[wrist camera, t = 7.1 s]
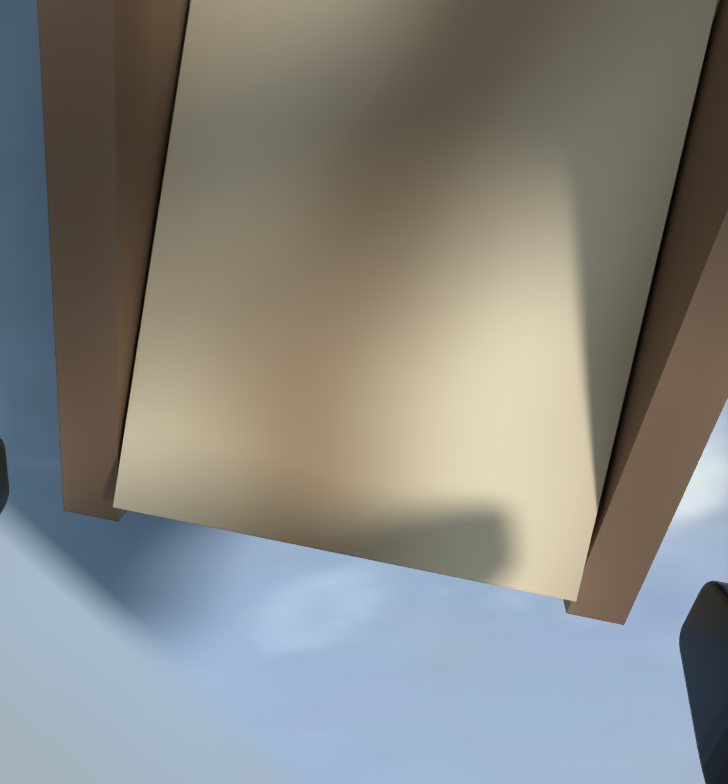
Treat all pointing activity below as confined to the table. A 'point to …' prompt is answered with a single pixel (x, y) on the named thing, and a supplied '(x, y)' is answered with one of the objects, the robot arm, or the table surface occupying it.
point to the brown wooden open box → (393, 274)
